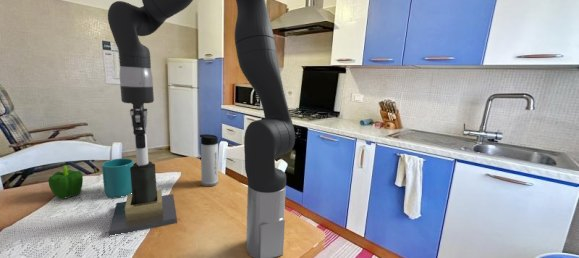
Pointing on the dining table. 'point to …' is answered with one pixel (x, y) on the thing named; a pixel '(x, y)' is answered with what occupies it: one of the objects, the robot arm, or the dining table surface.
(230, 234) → the dining table surface
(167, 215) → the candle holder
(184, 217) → the dining table surface
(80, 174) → the bell pepper
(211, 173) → the travel mug
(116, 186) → the cup
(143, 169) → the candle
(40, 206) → the dining table surface
